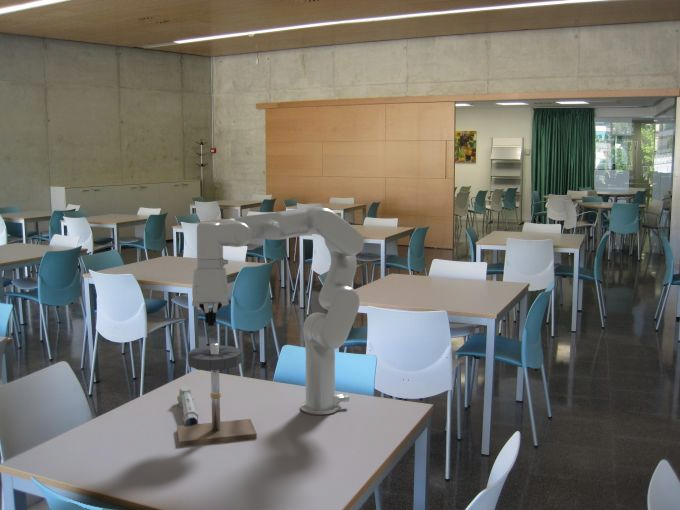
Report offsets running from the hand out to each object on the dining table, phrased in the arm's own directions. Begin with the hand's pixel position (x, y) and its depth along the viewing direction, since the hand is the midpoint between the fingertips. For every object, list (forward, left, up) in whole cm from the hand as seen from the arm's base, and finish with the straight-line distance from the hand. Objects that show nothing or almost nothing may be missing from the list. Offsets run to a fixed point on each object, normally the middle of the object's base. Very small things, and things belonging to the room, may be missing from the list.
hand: (210, 325), depth 209 cm
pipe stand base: (0, +6, -32) cm, 32 cm away
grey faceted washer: (0, +6, -10) cm, 11 cm away
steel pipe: (0, +6, -30) cm, 31 cm away
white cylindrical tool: (+6, -13, -32) cm, 35 cm away
